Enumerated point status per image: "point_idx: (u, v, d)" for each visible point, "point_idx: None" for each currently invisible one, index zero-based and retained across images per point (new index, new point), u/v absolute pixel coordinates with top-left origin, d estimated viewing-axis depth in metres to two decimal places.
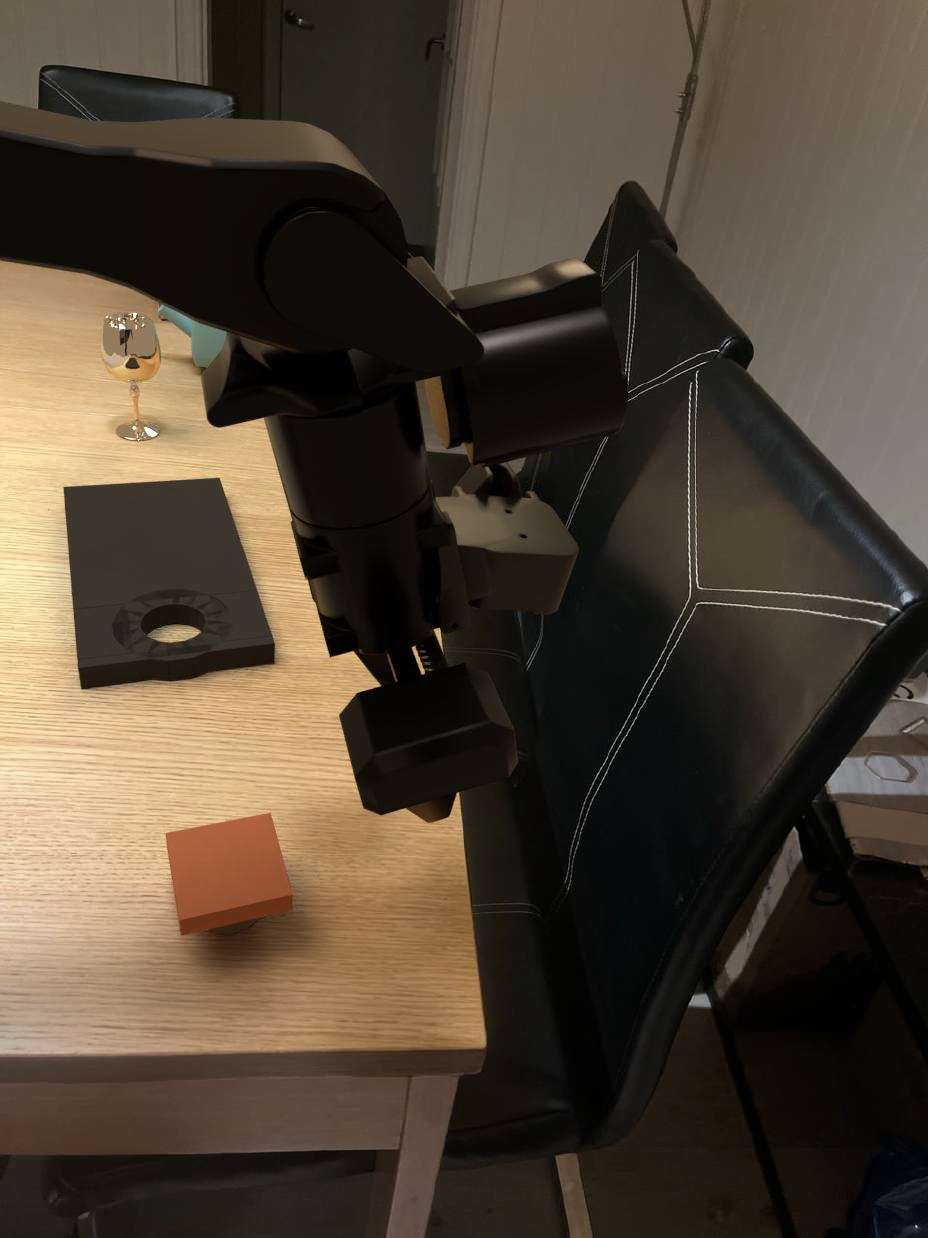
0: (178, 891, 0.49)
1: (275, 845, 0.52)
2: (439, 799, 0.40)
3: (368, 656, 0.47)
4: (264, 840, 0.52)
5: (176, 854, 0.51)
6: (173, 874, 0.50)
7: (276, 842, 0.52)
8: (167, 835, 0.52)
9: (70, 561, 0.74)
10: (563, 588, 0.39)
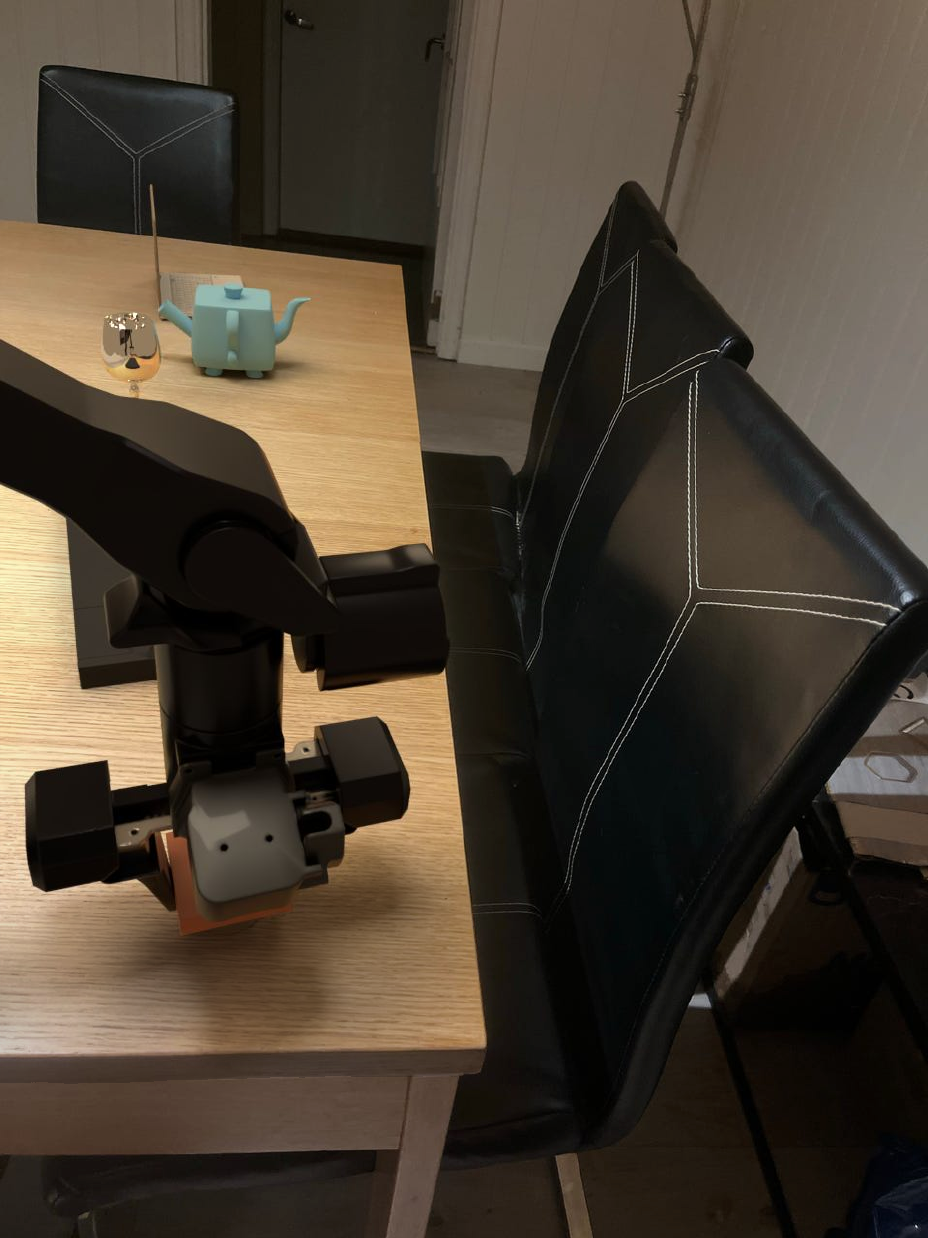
0: (178, 891, 0.49)
1: None
2: None
3: None
4: None
5: (176, 854, 0.51)
6: (173, 874, 0.50)
7: None
8: (167, 835, 0.52)
9: (70, 561, 0.74)
10: (202, 909, 0.40)
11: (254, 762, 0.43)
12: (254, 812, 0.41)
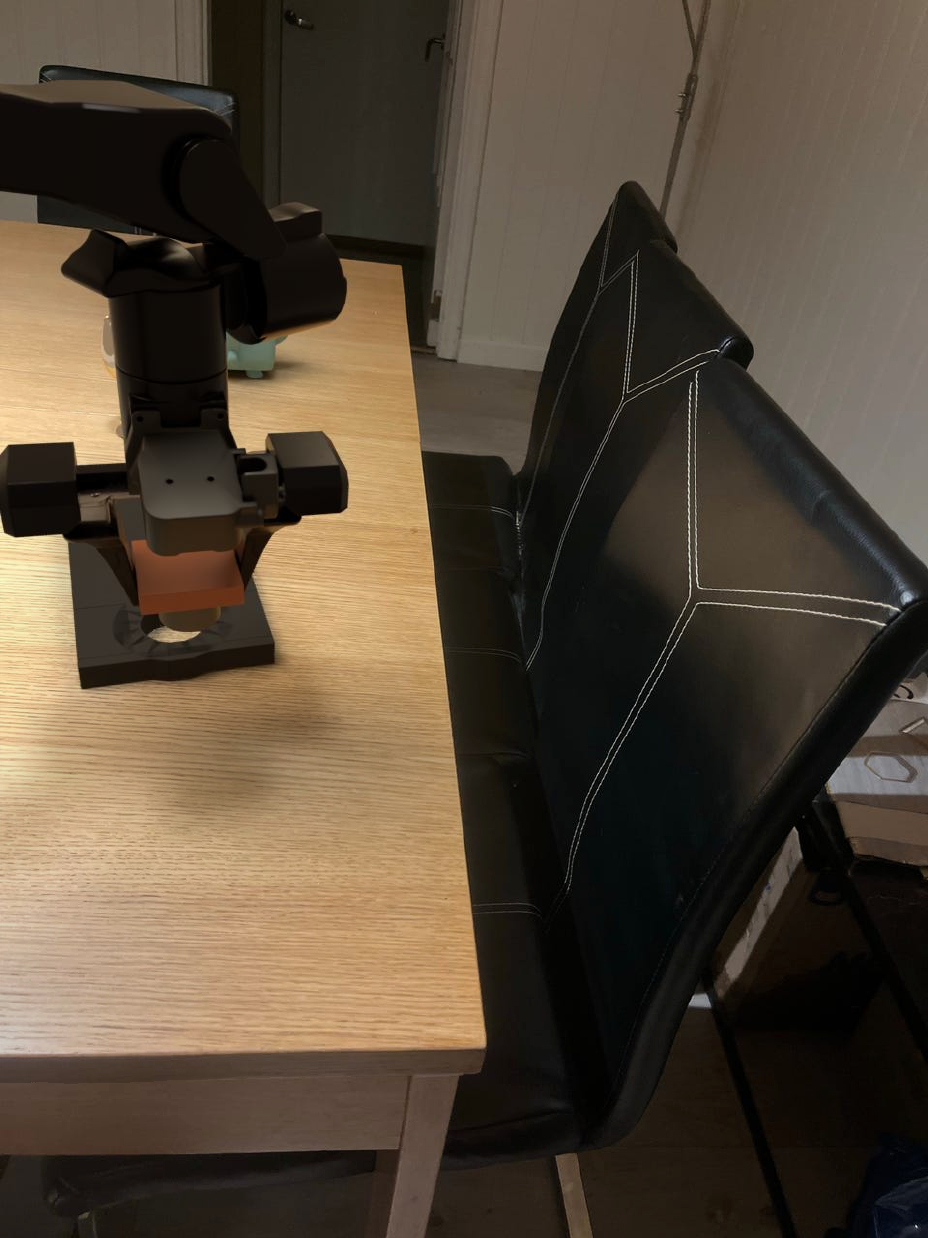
0: (139, 578, 0.54)
1: (230, 554, 0.57)
2: None
3: (235, 548, 0.58)
4: None
5: (139, 555, 0.56)
6: (136, 567, 0.55)
7: (232, 552, 0.57)
8: (133, 542, 0.57)
9: (70, 561, 0.74)
10: (150, 536, 0.46)
11: (200, 422, 0.48)
12: (198, 459, 0.47)
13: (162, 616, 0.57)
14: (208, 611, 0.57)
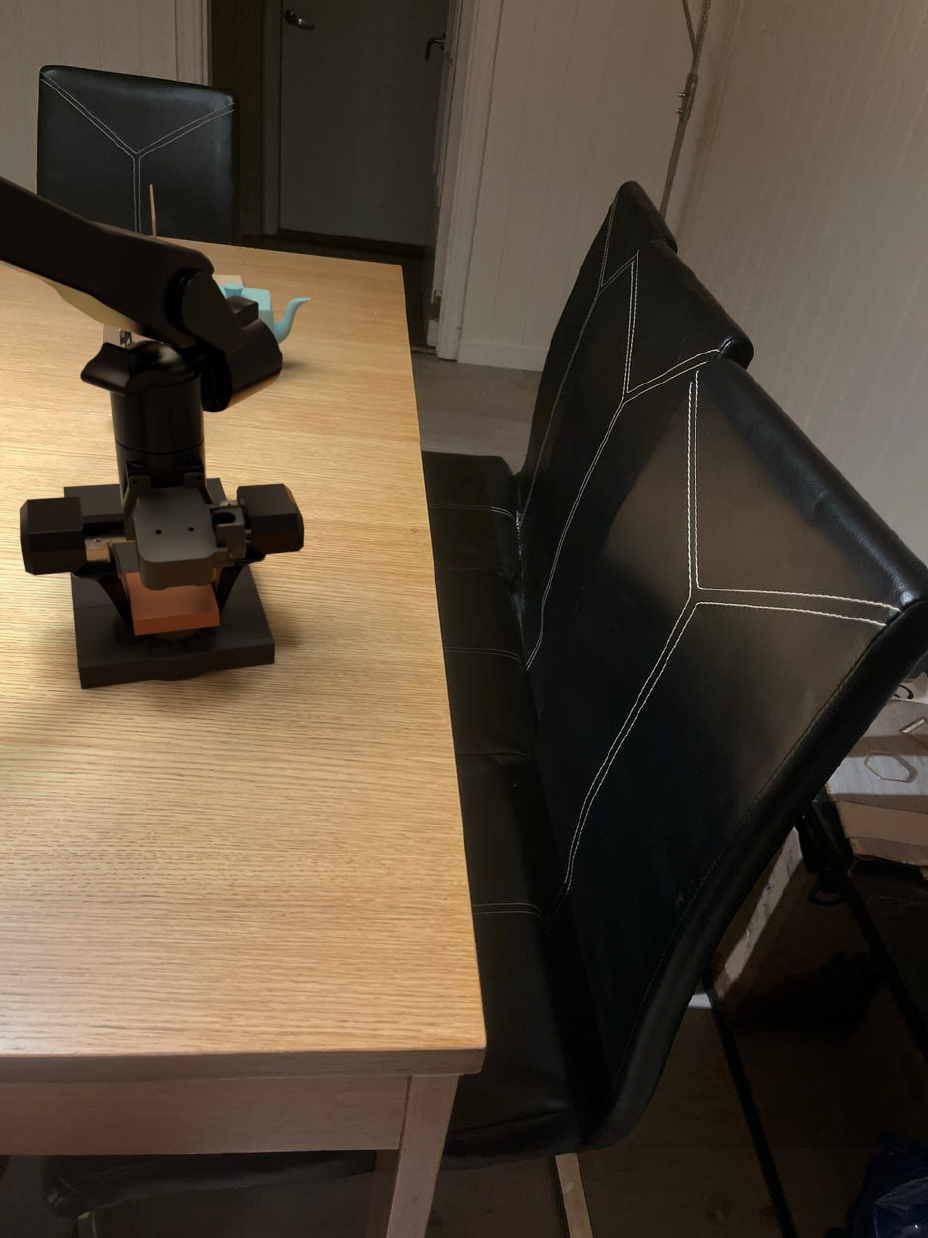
0: (133, 605, 0.66)
1: None
2: None
3: None
4: None
5: (133, 585, 0.68)
6: (130, 595, 0.67)
7: None
8: (127, 574, 0.69)
9: None
10: (143, 575, 0.58)
11: (182, 483, 0.60)
12: (181, 513, 0.59)
13: (151, 635, 0.69)
14: (189, 631, 0.69)
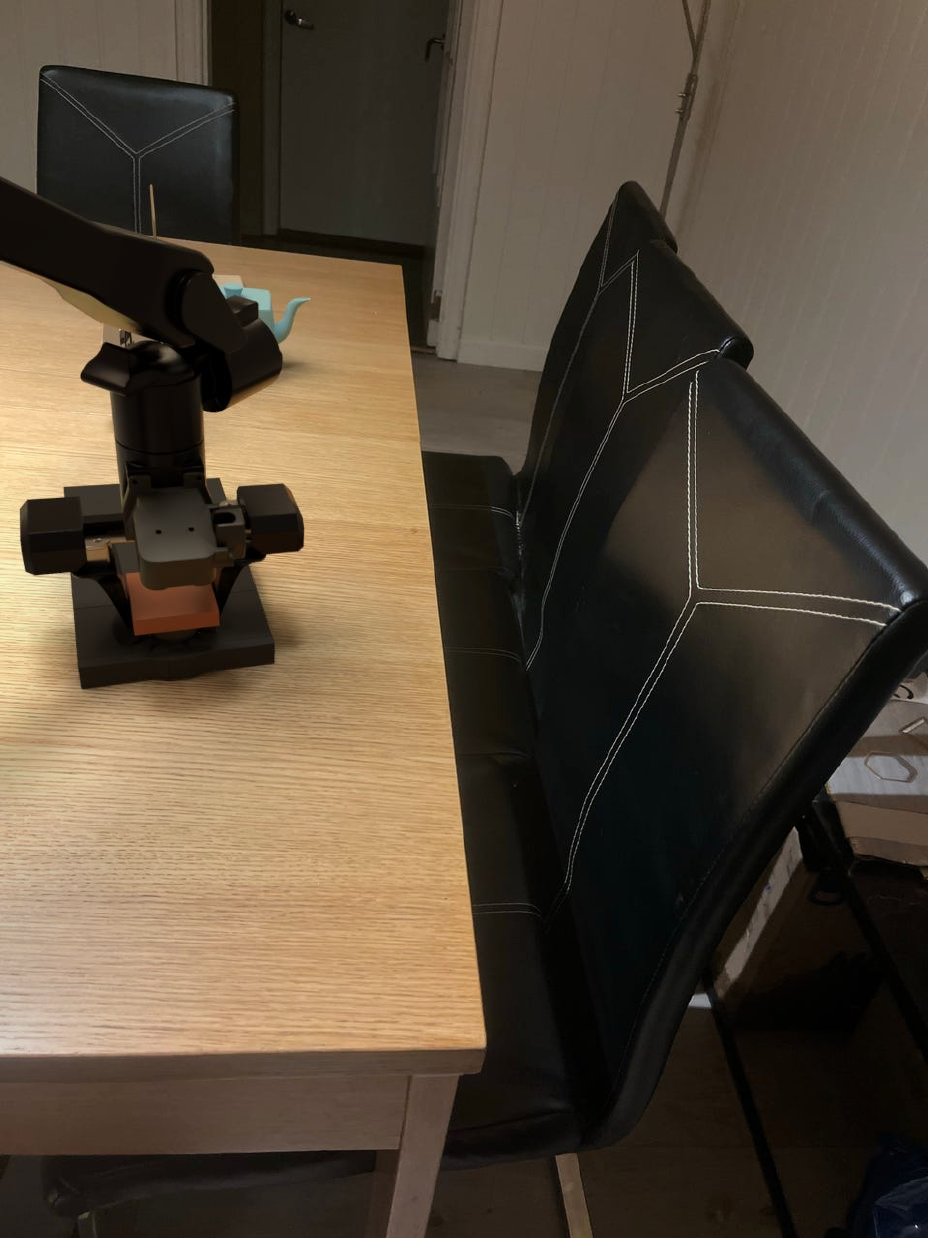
0: (133, 605, 0.66)
1: None
2: None
3: None
4: None
5: (133, 585, 0.68)
6: (130, 595, 0.67)
7: None
8: (127, 574, 0.69)
9: None
10: (143, 575, 0.58)
11: (182, 483, 0.60)
12: (181, 513, 0.59)
13: (151, 635, 0.69)
14: (189, 631, 0.69)
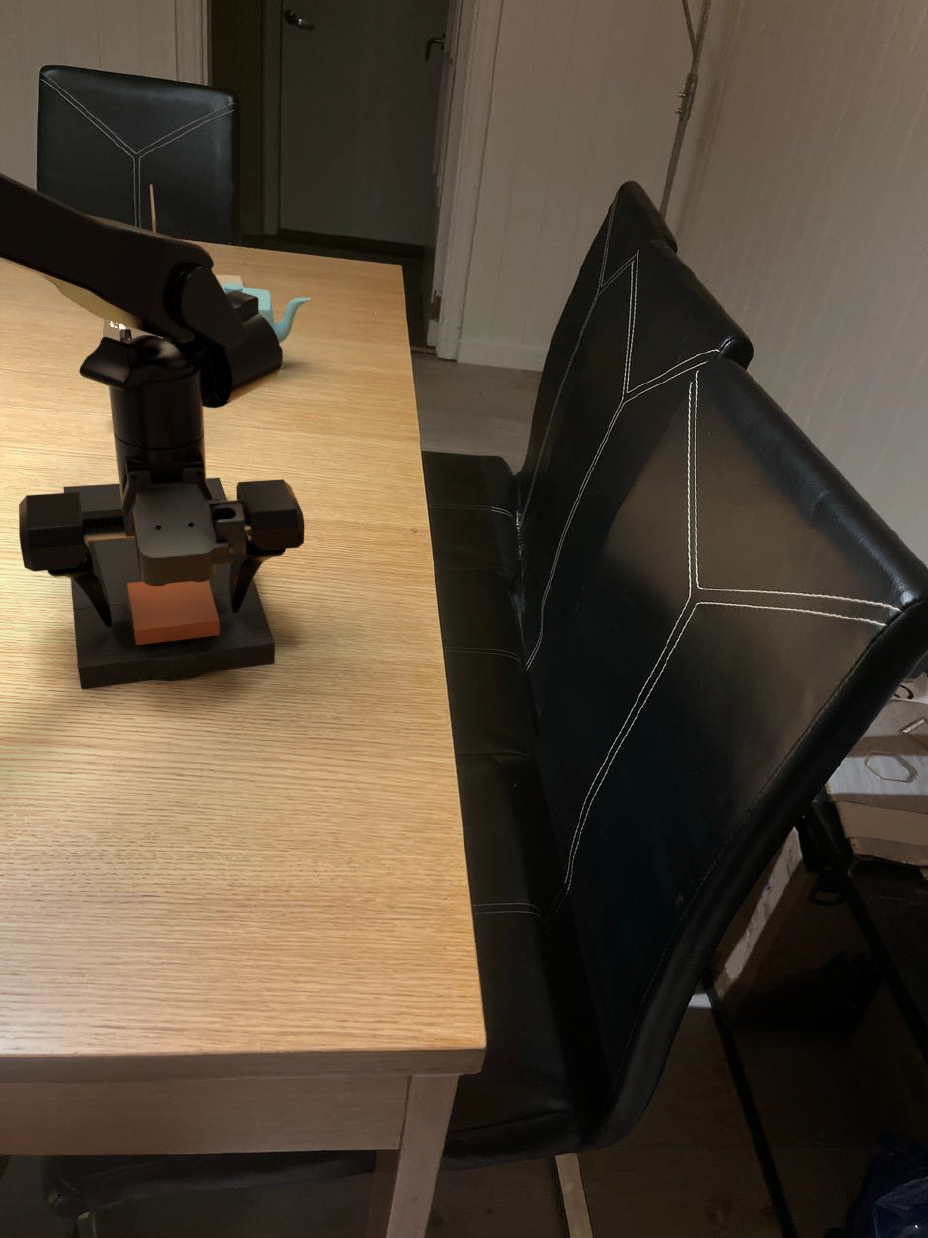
0: (134, 615, 0.67)
1: (209, 593, 0.70)
2: None
3: (230, 573, 0.70)
4: (201, 590, 0.70)
5: (134, 595, 0.69)
6: (131, 605, 0.68)
7: (209, 591, 0.70)
8: (128, 584, 0.70)
9: None
10: (143, 570, 0.57)
11: (182, 478, 0.60)
12: (181, 508, 0.59)
13: None
14: None
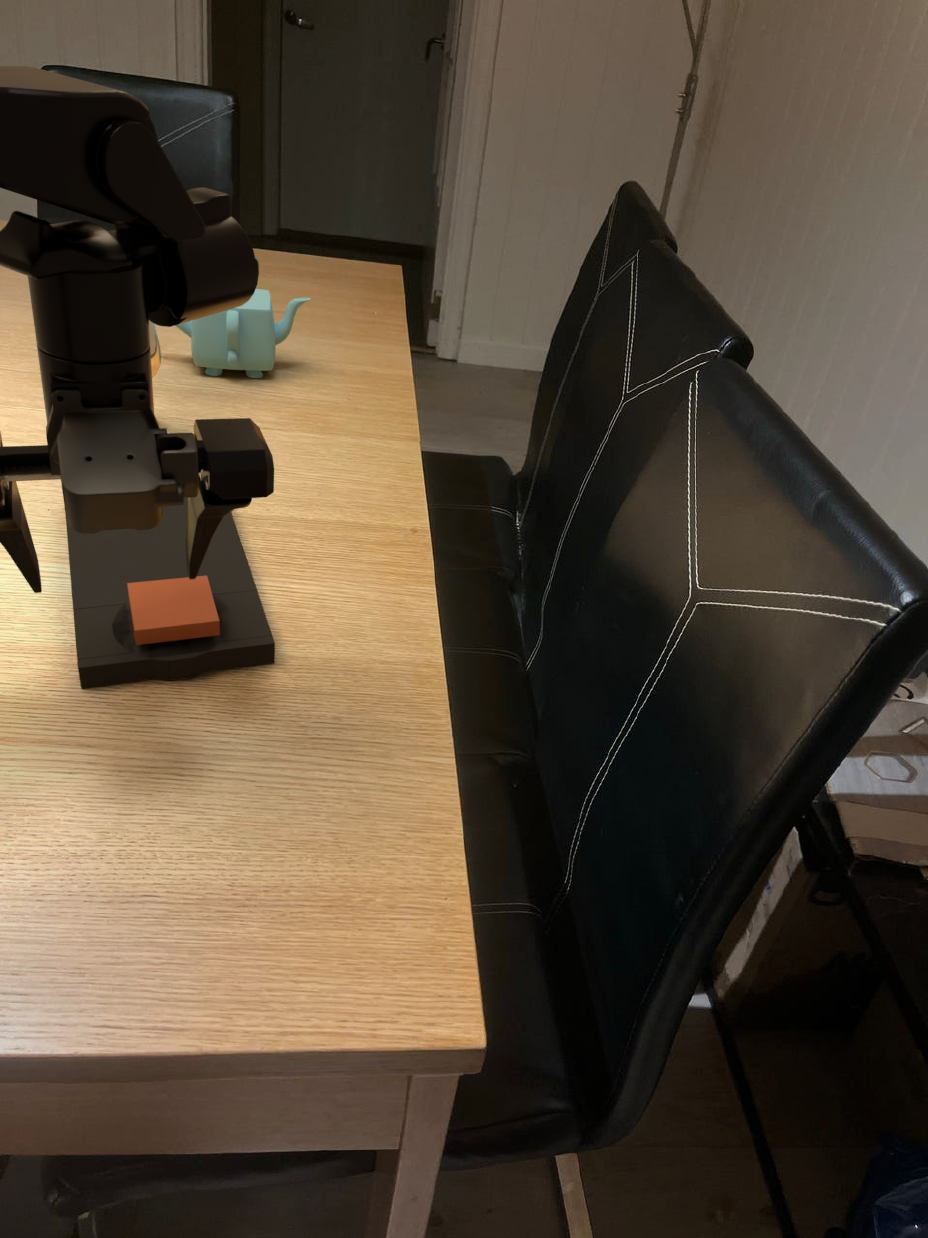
0: (134, 615, 0.67)
1: (209, 593, 0.70)
2: None
3: (187, 532, 0.59)
4: (201, 590, 0.70)
5: (134, 595, 0.69)
6: (131, 605, 0.68)
7: (209, 591, 0.70)
8: (128, 584, 0.70)
9: (70, 561, 0.74)
10: (69, 512, 0.46)
11: (121, 402, 0.48)
12: (118, 438, 0.47)
13: None
14: None
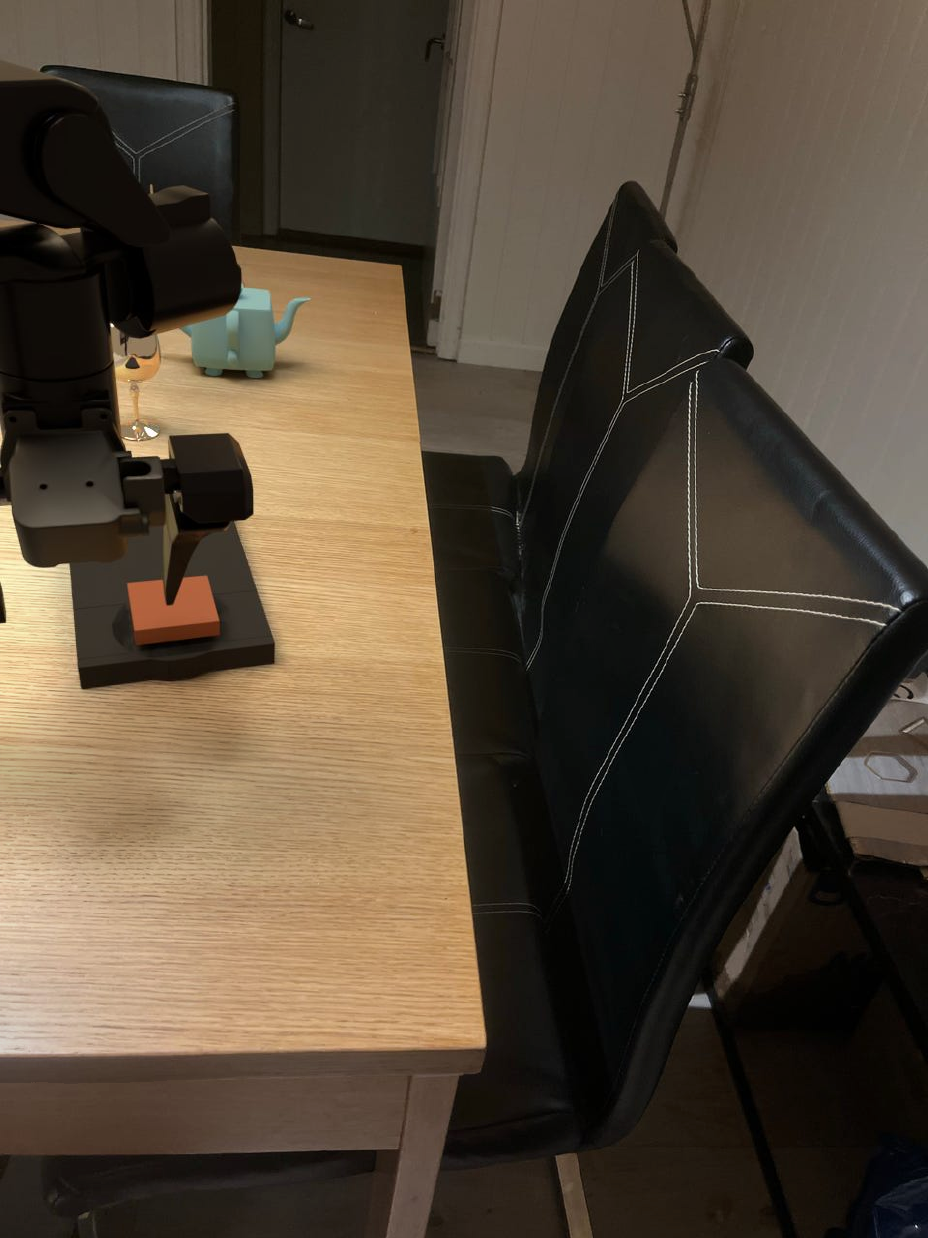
0: (134, 615, 0.67)
1: (209, 593, 0.70)
2: None
3: (163, 555, 0.55)
4: (201, 590, 0.70)
5: (134, 595, 0.69)
6: (131, 605, 0.68)
7: (209, 591, 0.70)
8: (128, 584, 0.70)
9: None
10: (23, 546, 0.42)
11: (81, 423, 0.44)
12: (77, 462, 0.43)
13: None
14: None
